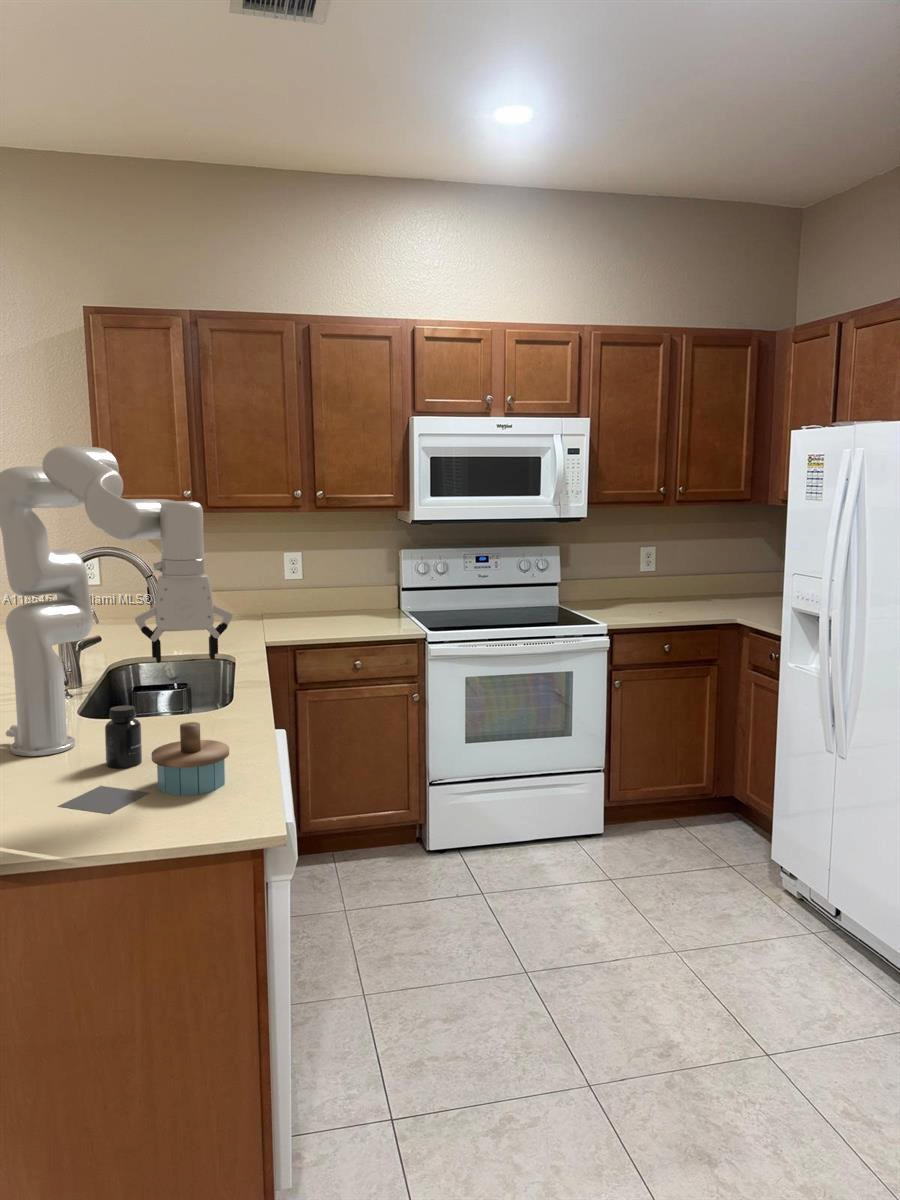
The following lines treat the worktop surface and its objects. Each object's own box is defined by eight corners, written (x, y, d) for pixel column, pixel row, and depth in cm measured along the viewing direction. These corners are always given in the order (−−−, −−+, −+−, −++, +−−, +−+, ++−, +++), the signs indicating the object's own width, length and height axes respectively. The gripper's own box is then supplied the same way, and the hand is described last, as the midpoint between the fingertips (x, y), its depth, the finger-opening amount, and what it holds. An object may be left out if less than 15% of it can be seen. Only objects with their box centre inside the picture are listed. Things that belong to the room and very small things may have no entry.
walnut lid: (135, 763, 157) (134, 731, 156) (181, 741, 170) (180, 712, 170) (201, 771, 153) (200, 738, 152) (243, 748, 166) (242, 718, 165)
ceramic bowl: (145, 793, 159) (143, 761, 158) (183, 773, 170) (182, 743, 169) (201, 800, 155) (200, 768, 154) (237, 779, 166) (236, 749, 166)
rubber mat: (57, 809, 150) (57, 806, 150) (100, 788, 161) (100, 785, 161) (109, 816, 147) (109, 813, 147) (150, 795, 158) (150, 792, 158)
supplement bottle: (141, 769, 172) (139, 711, 170) (104, 772, 170) (102, 713, 168) (143, 759, 178) (141, 702, 177) (108, 761, 176) (105, 704, 175)
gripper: (134, 571, 151) (137, 666, 154) (234, 569, 158) (235, 660, 160) (132, 567, 158) (135, 658, 160) (228, 565, 165) (230, 653, 167)
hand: (185, 659), depth 160 cm, fingers open, 9 cm apart
